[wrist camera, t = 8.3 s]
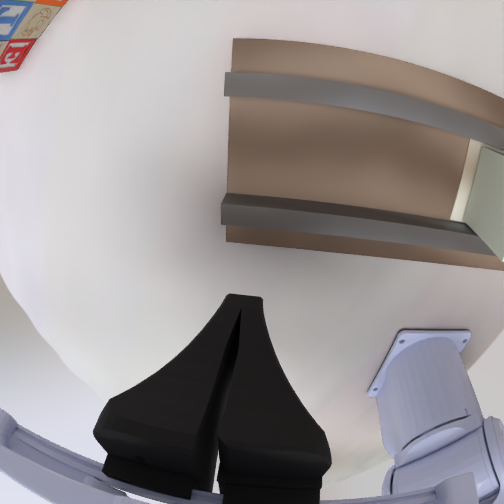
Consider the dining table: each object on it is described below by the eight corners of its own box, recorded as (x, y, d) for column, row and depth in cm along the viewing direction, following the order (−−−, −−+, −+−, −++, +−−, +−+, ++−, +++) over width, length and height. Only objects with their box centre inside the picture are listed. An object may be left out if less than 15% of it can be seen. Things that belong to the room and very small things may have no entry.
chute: (503, 264, 19) (527, 294, 15) (228, 234, 20) (216, 268, 17) (544, 123, 13) (579, 137, 9) (236, 40, 14) (221, 29, 10)
